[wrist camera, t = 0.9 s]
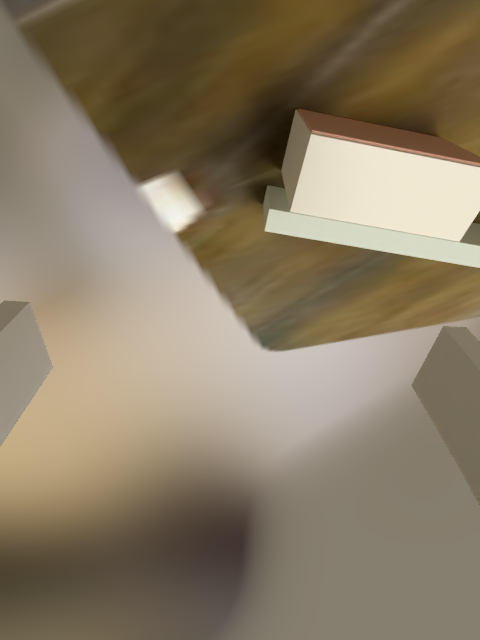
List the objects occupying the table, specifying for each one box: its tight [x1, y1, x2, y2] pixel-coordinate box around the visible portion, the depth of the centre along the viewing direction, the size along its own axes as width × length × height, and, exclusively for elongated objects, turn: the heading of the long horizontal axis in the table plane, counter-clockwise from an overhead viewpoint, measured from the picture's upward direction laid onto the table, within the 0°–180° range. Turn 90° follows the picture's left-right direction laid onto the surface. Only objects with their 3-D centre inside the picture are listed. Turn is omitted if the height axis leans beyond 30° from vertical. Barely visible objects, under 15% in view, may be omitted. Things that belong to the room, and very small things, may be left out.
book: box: [281, 108, 480, 242], centre depth 26 cm, size 13×5×10 cm, turn 81°
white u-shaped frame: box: [263, 185, 480, 268], centre depth 28 cm, size 28×12×6 cm, turn 81°
